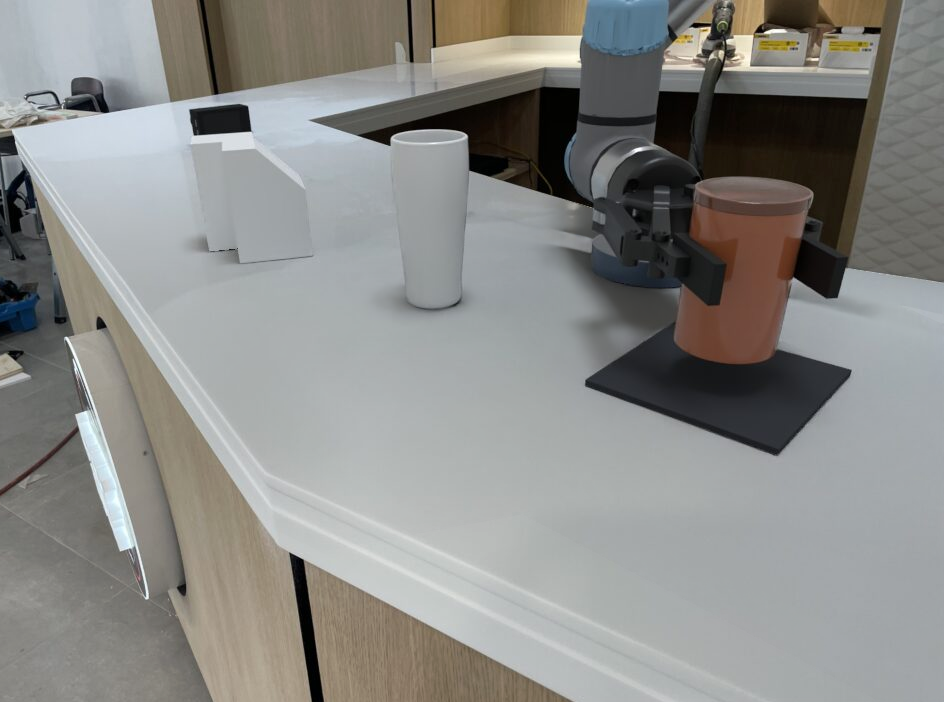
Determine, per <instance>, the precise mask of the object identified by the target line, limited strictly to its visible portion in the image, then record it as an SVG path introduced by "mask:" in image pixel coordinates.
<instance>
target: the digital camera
mask: <svg viewBox="0 0 944 702" xmlns="http://www.w3.org/2000/svg"><path fill="white" fill-rule="evenodd" d="M188 112H189V122H190V124H191V129H192V134H193V135H192V136H198V135H213V134H227V133H242V132H252V133H253V131H252V123H251V117H250V108H249V105H247V104H246V105H245V104H242V103H233V104H225V105H214V106H207V107H197V108H189V109H188Z"/></svg>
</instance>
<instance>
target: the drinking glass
mask: <svg viewBox="0 0 944 702" xmlns="http://www.w3.org/2000/svg"><path fill="white" fill-rule="evenodd" d="M390 171H391V172H390V175H391V186H392V194H393V195H392V196H393V203H394V209H395V210H394V211H395V217H396V225H397V232H398V239H399V246H400V254H401V263H402V269H403V278H404V294H405V295H404V296H405V299H406V300H407V302H408V303H409V304H410V305H413V306H415V307H417V308H421V309H427V310H436V309H444V308H448V307H452V306H453V305H455V304H456V303H458V302H459V301H460V300H461V299H462V295H463V268H464V267H463V266H464V254H465V253H464V252H465V240H466V239H465V238H466V227H467V226H466V225H467V217H468V216H467V215H468V205H469V204H468V203H469V189H470V188H469V187H470V149H469V135H468V134H466V133H465V132H463V131H458V130H453V129H416V130H415V129H414V130H408V131H403V132H398V133H396V134H395V133H394V134H393V135H392V136H390Z"/></svg>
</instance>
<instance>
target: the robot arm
mask: <svg viewBox="0 0 944 702" xmlns="http://www.w3.org/2000/svg"><path fill="white" fill-rule="evenodd" d="M717 2H718V0H587V3H586V6H585V17H584V24H583V26H582V36H581V38H580V43H579V59H580V81H579V83H580V84H579V104H578V112H577V121H576V132H575V133H574V135H573V136H572V137H571V139H570V141H569V142H568V144H567V146H566V148H565V152H564V158H563V159H564V170H565V173H566V176H567V178H568V179H569V181H570V182H571V184H572V185H573V186H574V189H576V192H577V193H578V194H579V195H580V196H582V198H584V199H586V200H587V201H589V202H592V203H593V209H592V223H591V230H592V231H594V232H597V234H602V235H603V236H604V237H605V239H606V240H607V242H608V244H609V245H610V247H611V249H612V250H613V252H614V253H615V255H616V257H617V258H618V260H619V262H620V263H621V264H622V265H623V266H625V267H635V266H637V265H638V261H649V266H648V274H647V276H648V277H650V278H654V279H662V278H664V277H665V273H666V274H667V275H668V276H670V277H673V278H677V279H678V280H679V281H680V282H681V283H683V284H684V285H685V286H686V287H687V288H688V289H689V290H690V291H692V292H693V293H694V294H695V295H696V296H697V297H698V298H699V299H701V300H702V301H703V302H704V303H705V304H706V305H707V306H717V305H720V300H721V295H722V289H723V284H724V278H725V272H726V267H727V264H726V263H725V262H724V261H722V260H721V259H720V258H718V257H717V256H716V255H714V254H713V253H711V252H710V251H709V250H707V249H706V248H705V247H703V246H702V245H700V244H699V243H698V242H696V241H695V240H694V239H692V238H691V237H690V236H688V235H689V228H690V221H691V215H692V208H693V201H694V200H693V191H694V186H695V184H697V183H698V182H700V181H703V180H702V178H701V176H700V174H699V172H698V171H697V169H696V168H695V166H694V165H693V164H691V163H690V162H689V161H688V160H685V159H684V158H682V157H680V156H678V155H676V154H675V153H672V152H671V151H668V150H667V149H666V148H663V147H661V146H659V145H657V144H655V143H654V141H655V132H656V124H657V118H658V117H657V116H658V113H657V111H658V110H657V108H658V103H659V94H660V87H661V79H662V72H663V65H664V58H665V57H664V56H665V52H666V50H668V49H669V48H670V46H672V44H674V42H675V41H676V40H677V39H678V38H679V37H681V35H682V34H684V33H685V32H686V30H688V29H689V28H690V27H691V26H692V25H693V24H694V23H695V22H696V21H697V20H698V19H700V18H701V17H702V16H703V15H704V14H705V13H706V12H707V11H708V10H709V9H710V8H711V7H712V6H714V4H715V3H717ZM823 224H824V222H822V221H821V220H819V219H816V218H813V217H811V216H808V215H807V219H806V223H805V228H804V232H803V237H802V241H801V246H800V250H799V254H798V259H797V263H796V268H795V272H794V277H793V279H795V280H797V281H798V282H800V283H801V284H802V285H804V286H806V287H807V288H809V289H810V290H812V291H813V292H815V293H817V294H818V295H820V297H823V298H824V299H826V300H831V299H838V298H839V295H840V291H841V287H842V284H843V281H844V276H845V272H846V269H847V264H848V261H849V256H847V255H845V254H843V253H842V252H840V251H838V250H836V249H835V248H833V247H831V246H829V245H827V244H826V243H823V242H822V241H820V238H821V237H820V236H821V232H822V229H823ZM672 239H673V240H672ZM671 240H672V241H671Z"/></svg>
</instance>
